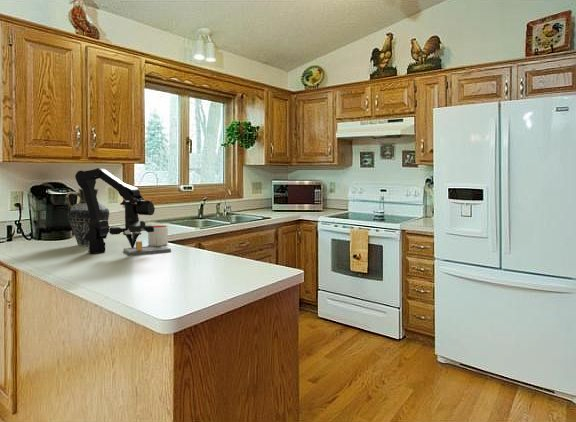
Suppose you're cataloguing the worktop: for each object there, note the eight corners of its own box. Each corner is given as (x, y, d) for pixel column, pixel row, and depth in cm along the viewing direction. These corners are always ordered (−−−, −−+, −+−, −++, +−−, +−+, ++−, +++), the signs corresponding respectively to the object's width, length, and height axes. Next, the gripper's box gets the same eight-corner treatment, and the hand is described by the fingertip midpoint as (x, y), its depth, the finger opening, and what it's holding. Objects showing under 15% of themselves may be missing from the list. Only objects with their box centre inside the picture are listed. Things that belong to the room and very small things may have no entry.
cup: (162, 247, 206) (161, 228, 206) (144, 246, 208) (144, 227, 208) (171, 244, 216) (171, 225, 215) (154, 243, 218) (154, 225, 217)
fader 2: (156, 245, 199) (156, 237, 199) (155, 245, 200) (155, 237, 200) (161, 245, 200) (161, 237, 200) (160, 244, 202) (160, 236, 202)
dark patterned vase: (98, 241, 224) (96, 187, 221) (117, 244, 212) (115, 188, 210) (59, 245, 207) (57, 188, 204) (78, 250, 196) (76, 189, 193)
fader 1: (136, 250, 186) (136, 241, 186) (135, 249, 187) (135, 241, 187) (142, 250, 187) (142, 241, 187) (141, 249, 189) (141, 240, 188)
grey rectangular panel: (129, 255, 183) (129, 252, 183) (123, 251, 193) (123, 248, 193) (170, 251, 193) (170, 248, 193) (162, 247, 204) (162, 244, 204)
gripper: (113, 217, 172) (114, 252, 174) (157, 215, 183) (157, 248, 184) (108, 215, 182) (109, 248, 183) (150, 213, 192) (151, 245, 193)
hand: (132, 248), depth 185 cm, fingers closed
